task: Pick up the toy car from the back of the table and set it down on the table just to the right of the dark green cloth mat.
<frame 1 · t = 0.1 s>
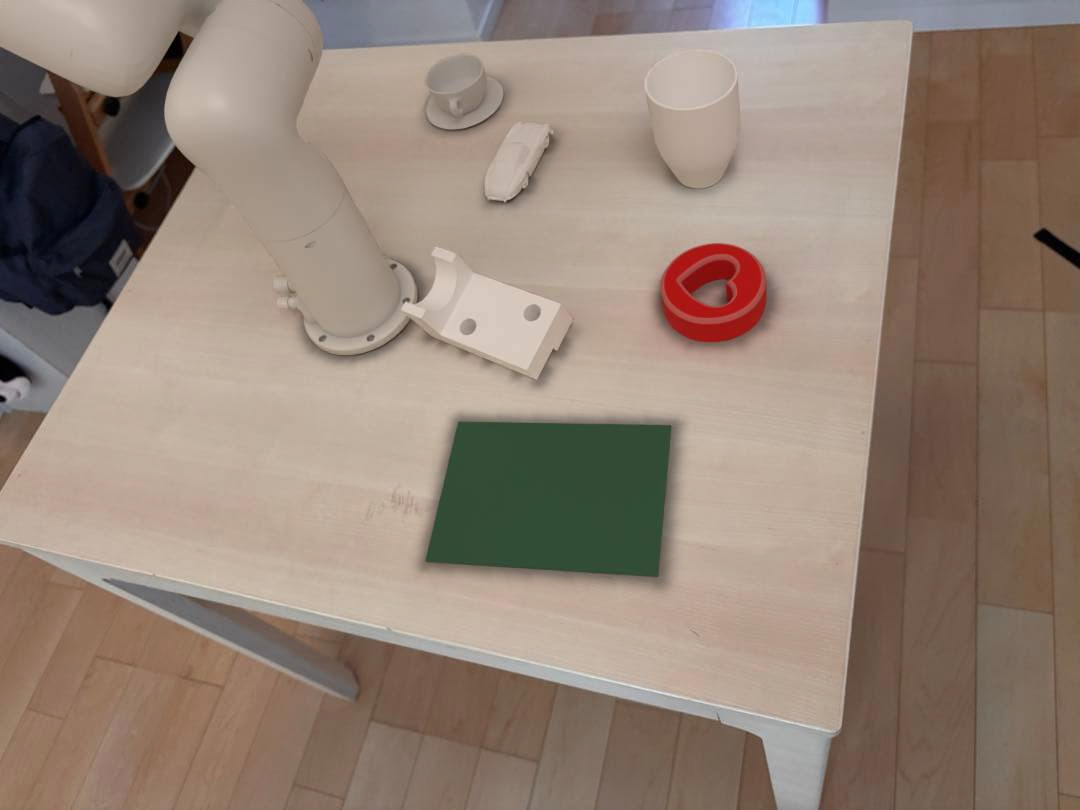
cloth mat: (550, 493, 75), on the table
mug: (704, 164, 93), on the table
decorative ornament: (714, 302, 83), on the table
bracket: (498, 338, 86), on the table
toy car: (519, 169, 99), on the table
teacup: (466, 106, 108), on the table
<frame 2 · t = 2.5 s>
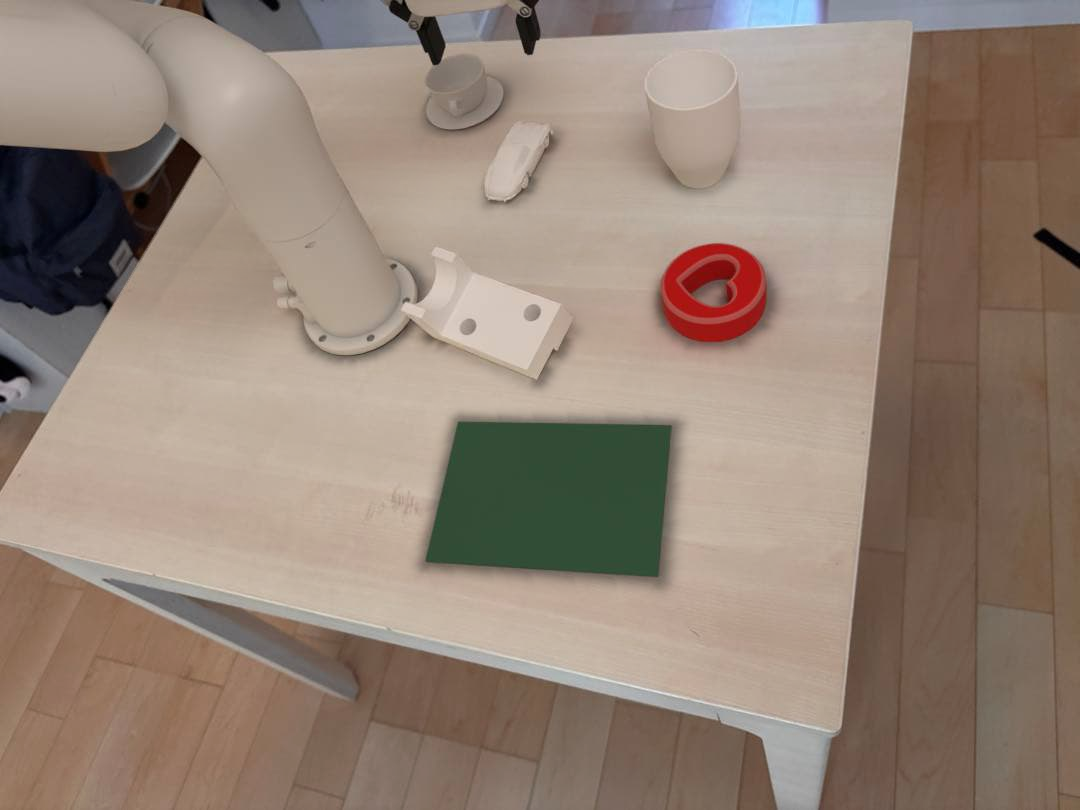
hand: (485, 51, 85), 16 cm above the table, tool pointing down, fingers open, 9 cm apart
nothing on the table moved.
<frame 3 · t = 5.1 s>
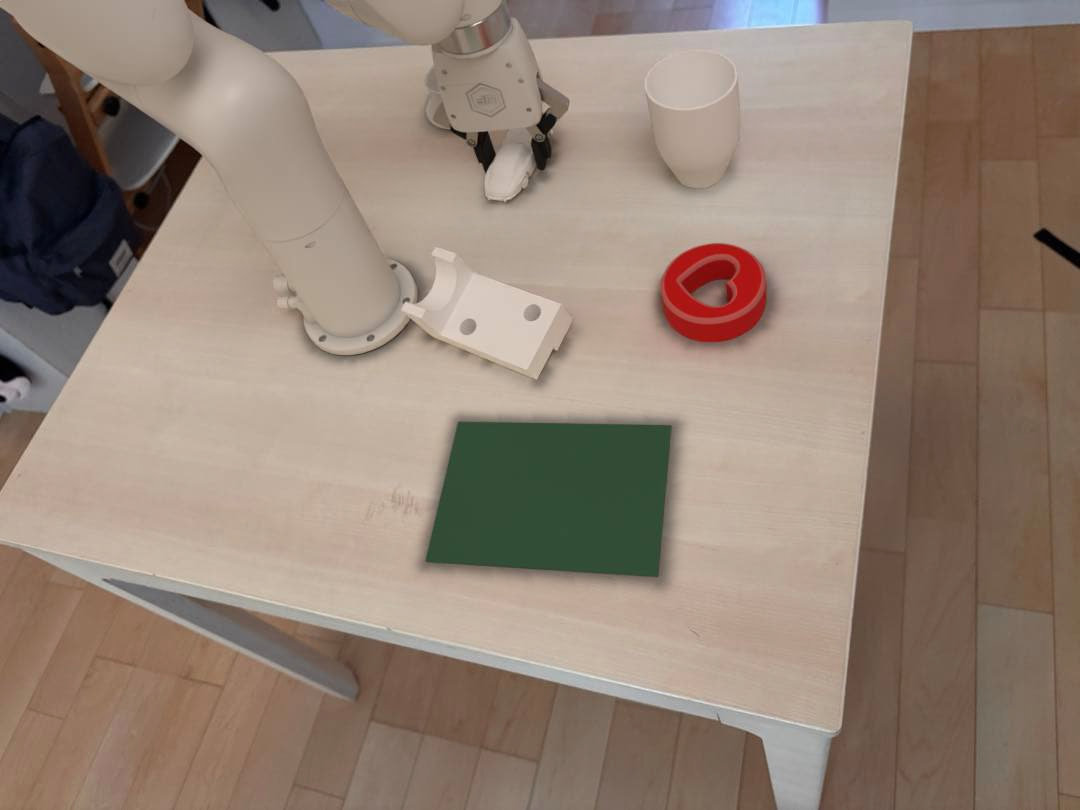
hand: (517, 162, 98), 1 cm above the table, tool pointing down, fingers closed on toy car, 5 cm apart
toy car: (519, 169, 99), on the table, touching gripper
everything else where it was.
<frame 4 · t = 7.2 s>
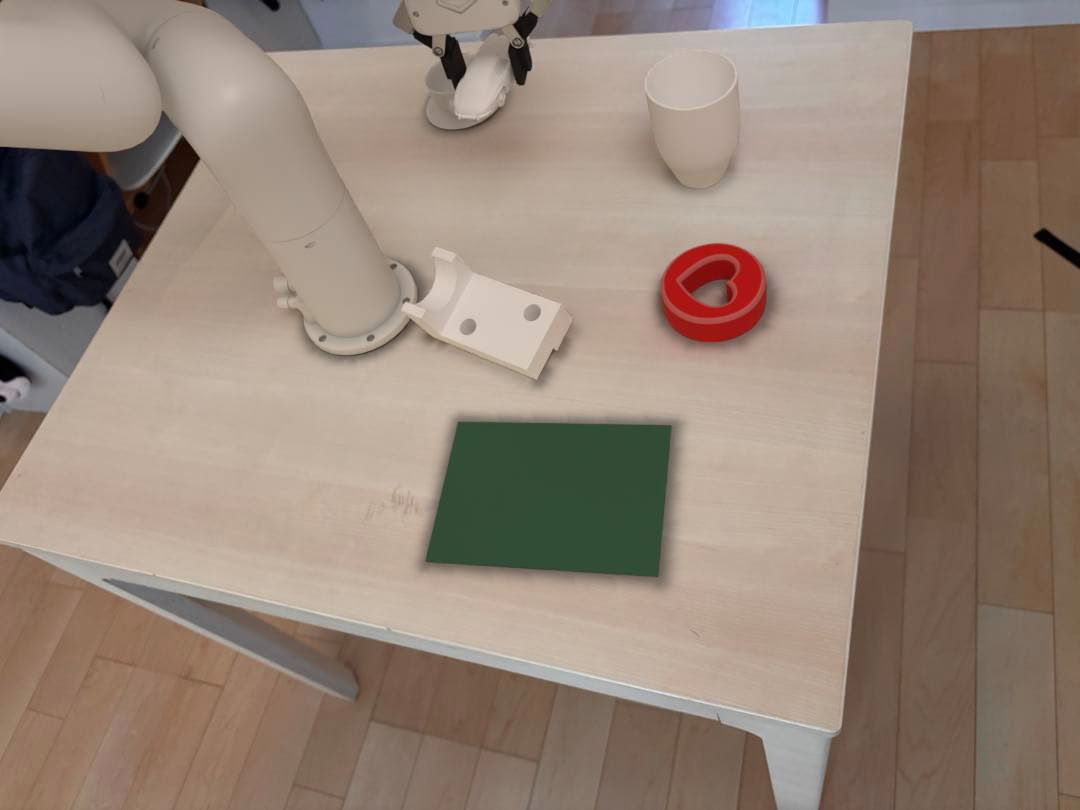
hand: (491, 78, 84), 15 cm above the table, tool pointing down, fingers closed on toy car, 5 cm apart
toy car: (494, 87, 85), point 14 cm above the table, touching gripper
everything else where it was.
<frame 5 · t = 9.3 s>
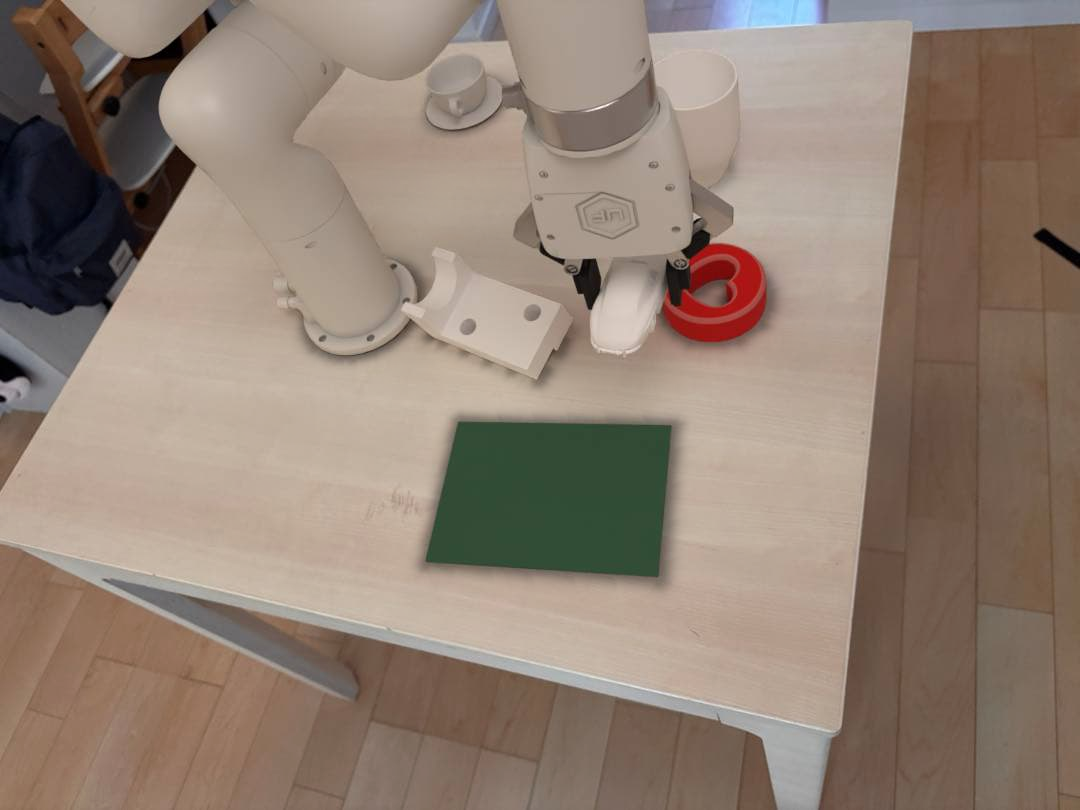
hand: (635, 292, 65), 16 cm above the table, tool pointing down, fingers closed on toy car, 5 cm apart
toy car: (637, 300, 66), point 15 cm above the table, touching gripper
everything else where it was.
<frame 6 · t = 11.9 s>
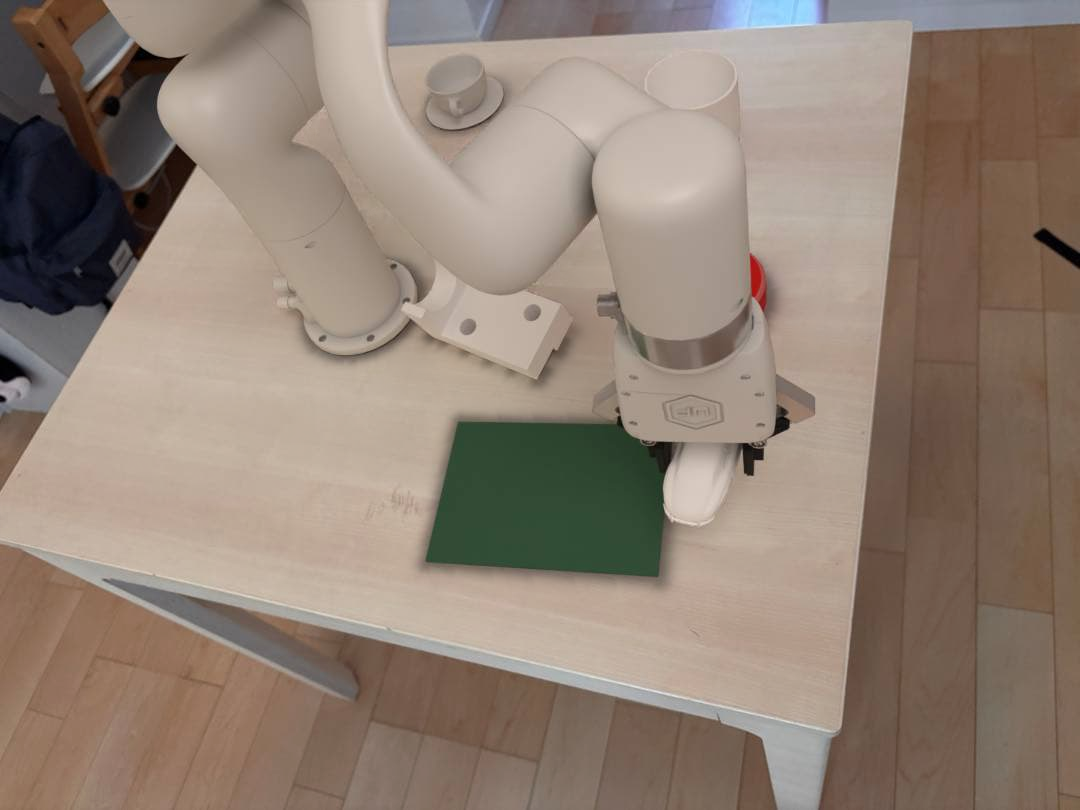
hand: (707, 456, 66), 7 cm above the table, tool pointing down, fingers closed on toy car, 5 cm apart
toy car: (708, 462, 66), point 6 cm above the table, touching gripper
everything else where it was.
when the fingers open (1 cm above the table, at t = 13.9 s): toy car stays where it is, on the table.
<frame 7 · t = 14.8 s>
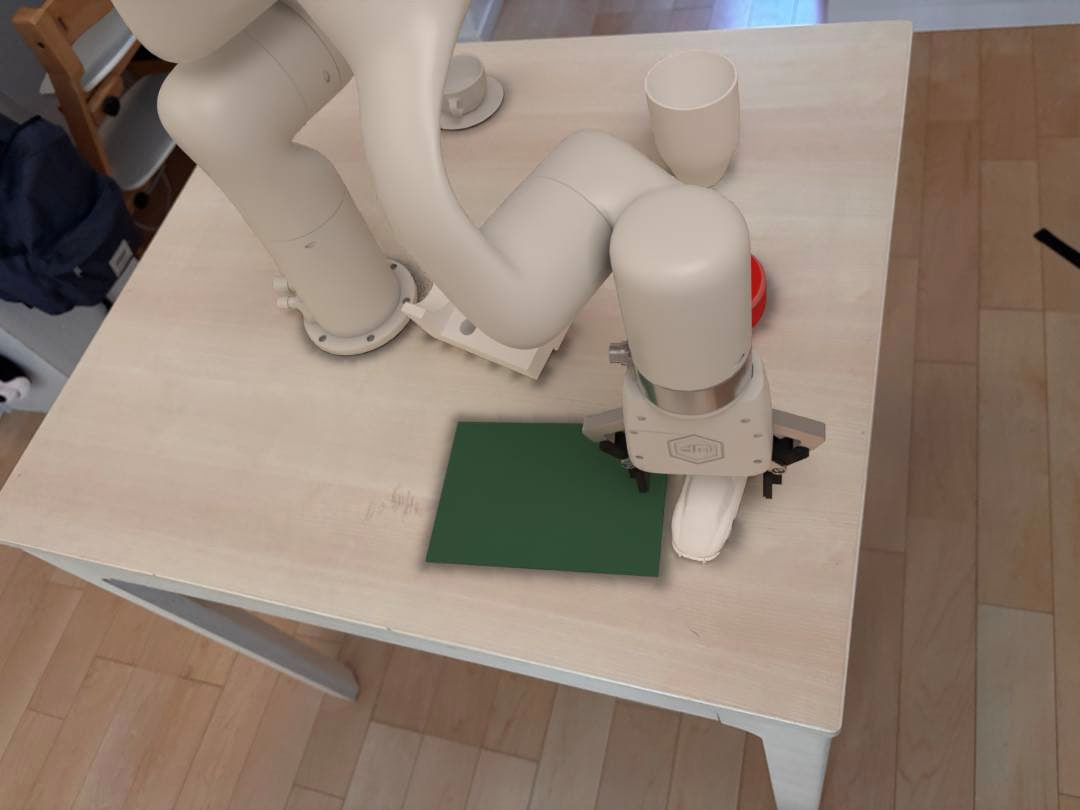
hand: (705, 479, 69), 3 cm above the table, tool pointing down, fingers open, 9 cm apart
toy car: (713, 499, 72), on the table
everything else where it was.
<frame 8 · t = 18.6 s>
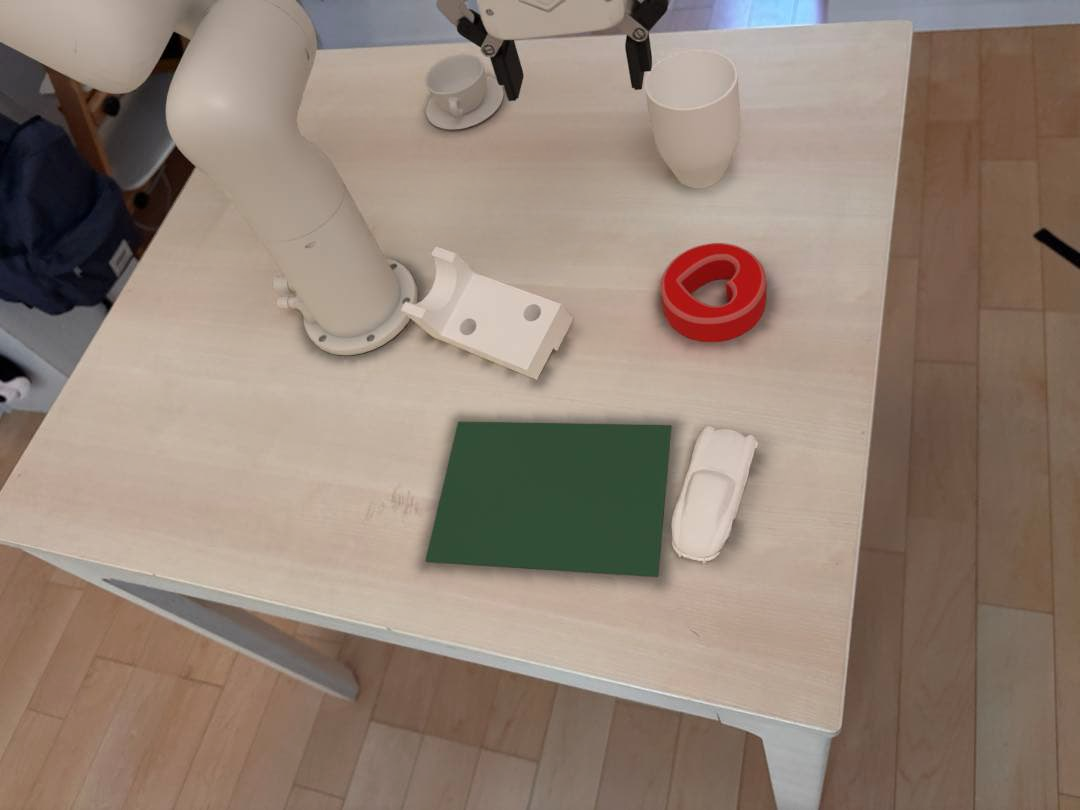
hand: (576, 83, 66), 24 cm above the table, tool pointing down, fingers open, 9 cm apart
nothing on the table moved.
at the end: toy car inside the target area on the table beside the cloth mat (1.5 cm from its centre), on the table; toy car touching table; toy car tilted 0° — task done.
